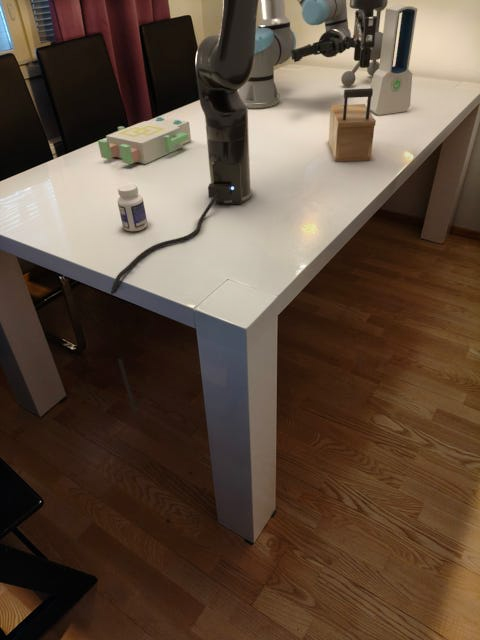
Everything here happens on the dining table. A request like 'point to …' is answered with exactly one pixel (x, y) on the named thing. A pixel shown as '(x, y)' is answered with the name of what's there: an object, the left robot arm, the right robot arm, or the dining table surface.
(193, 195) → the dining table surface
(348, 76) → the molecular model
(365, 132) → the chest
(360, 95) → the lid
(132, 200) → the pill bottle
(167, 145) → the decorative block
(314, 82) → the dining table surface
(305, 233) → the dining table surface
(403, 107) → the electronic device
